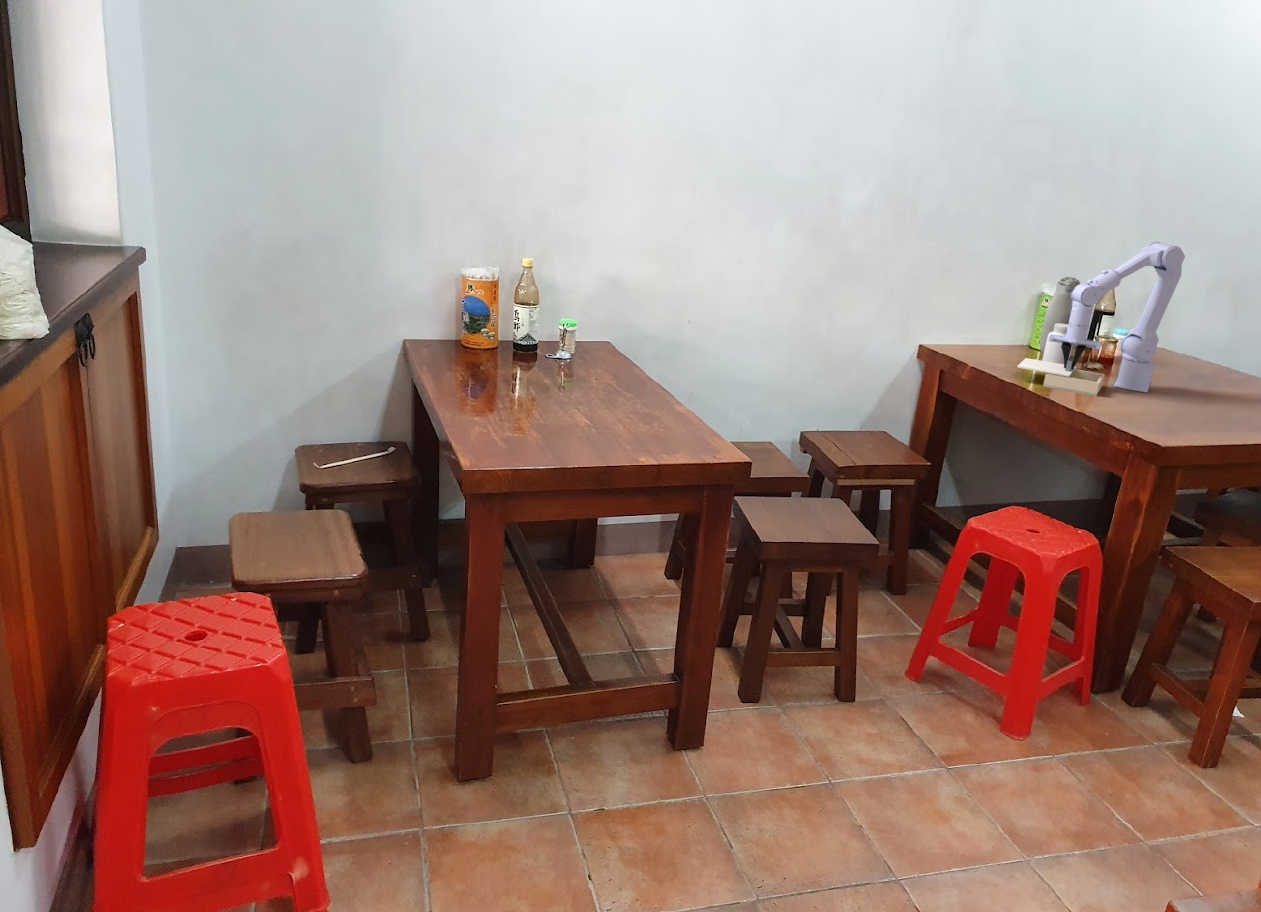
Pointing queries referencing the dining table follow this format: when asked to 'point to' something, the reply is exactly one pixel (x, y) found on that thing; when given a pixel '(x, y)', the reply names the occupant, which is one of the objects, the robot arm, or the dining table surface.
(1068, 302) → the gray tapered bottle
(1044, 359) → the pill bottle
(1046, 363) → the lid
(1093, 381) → the beige open box
